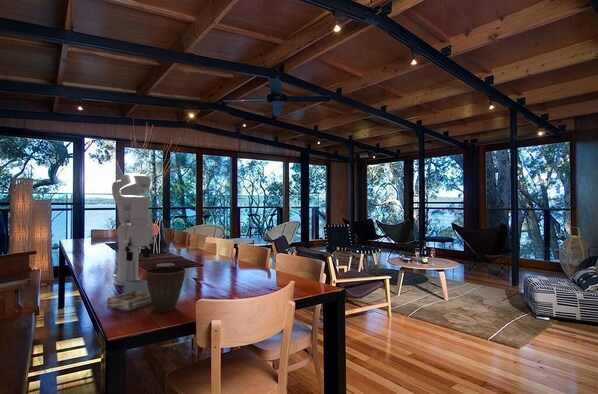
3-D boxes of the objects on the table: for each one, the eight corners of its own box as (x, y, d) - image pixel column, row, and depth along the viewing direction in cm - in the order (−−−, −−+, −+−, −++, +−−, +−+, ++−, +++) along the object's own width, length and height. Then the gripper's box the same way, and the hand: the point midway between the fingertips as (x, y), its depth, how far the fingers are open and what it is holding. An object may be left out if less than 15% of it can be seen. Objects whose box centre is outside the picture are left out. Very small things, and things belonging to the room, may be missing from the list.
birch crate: (107, 306, 137) (107, 298, 137) (134, 298, 149) (134, 290, 149) (129, 311, 132) (130, 302, 132) (155, 302, 145) (156, 294, 145)
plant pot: (143, 317, 125) (145, 274, 126) (144, 305, 139) (146, 267, 139) (185, 313, 131) (187, 272, 132) (182, 302, 145) (183, 265, 145)
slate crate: (123, 294, 154) (124, 281, 155) (134, 291, 160) (135, 279, 160) (137, 297, 152) (137, 283, 152) (147, 293, 157) (147, 281, 157)
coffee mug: (177, 282, 180) (177, 264, 180) (165, 286, 172) (166, 266, 172) (159, 280, 184) (160, 262, 184) (147, 284, 176) (148, 264, 176)
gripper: (147, 221, 166) (146, 256, 166) (117, 222, 150) (116, 261, 150) (159, 222, 163) (158, 257, 163) (130, 223, 147) (128, 262, 147)
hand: (138, 259), depth 156 cm, fingers open, 9 cm apart
